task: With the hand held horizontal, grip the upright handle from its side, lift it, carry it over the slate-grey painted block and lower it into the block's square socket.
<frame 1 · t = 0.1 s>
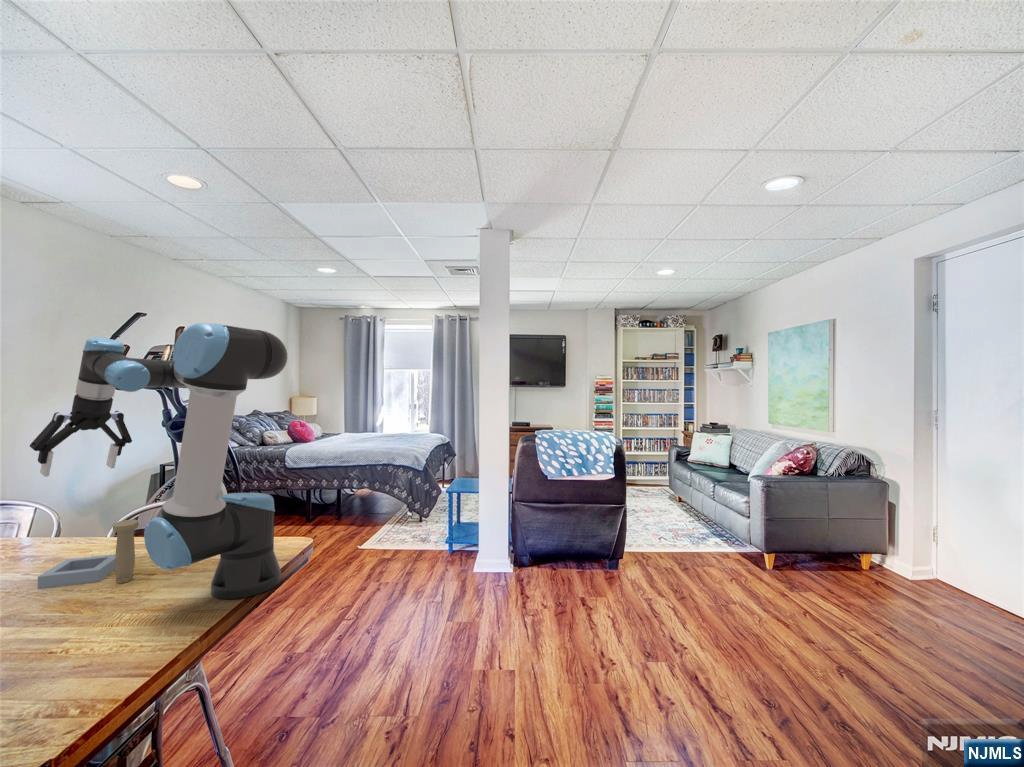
hand: (79, 470, 118), 28 cm above the table, tool tilted 20°, fingers open, 13 cm apart
socket block: (82, 575, 116), on the table
handle: (124, 582, 113), on the table
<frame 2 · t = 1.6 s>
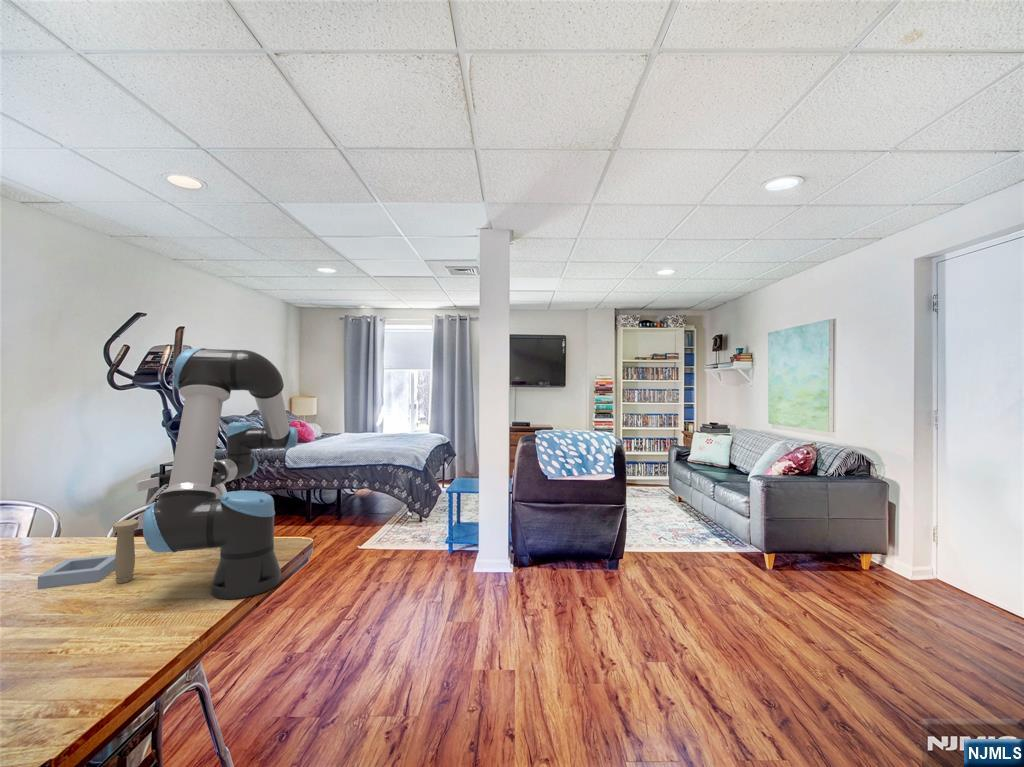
hand: (158, 487, 123), 22 cm above the table, tool horizontal, fingers open, 13 cm apart
nothing on the table moved.
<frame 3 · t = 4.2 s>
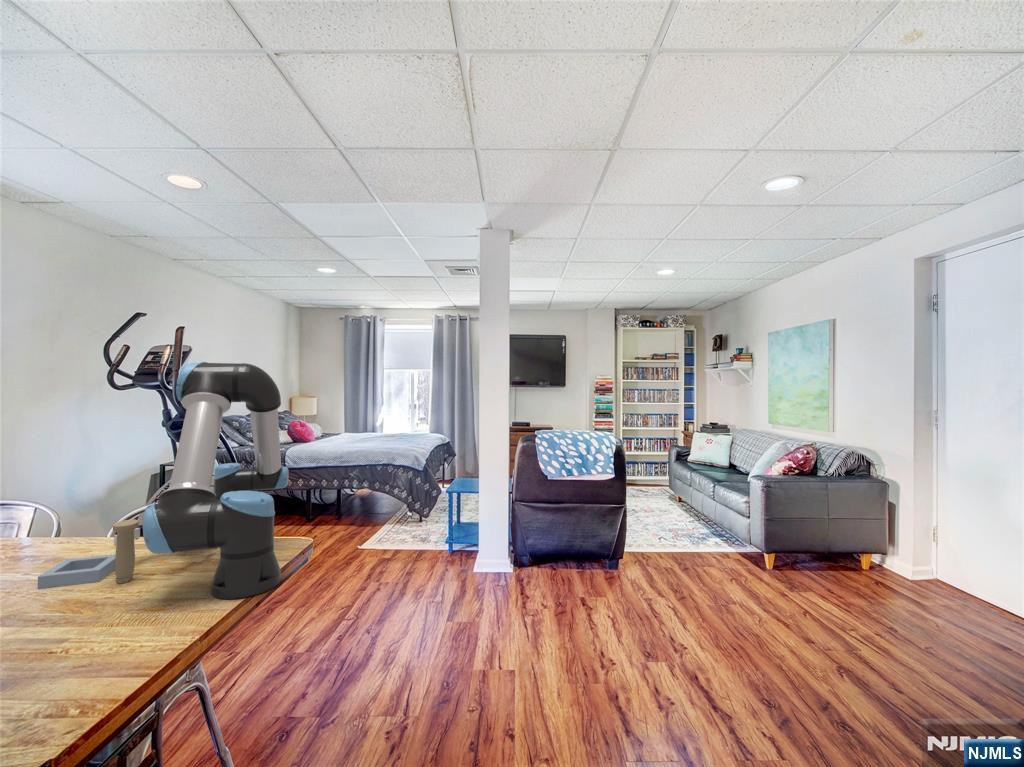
hand: (137, 541, 117), 9 cm above the table, tool horizontal, fingers open, 13 cm apart
nothing on the table moved.
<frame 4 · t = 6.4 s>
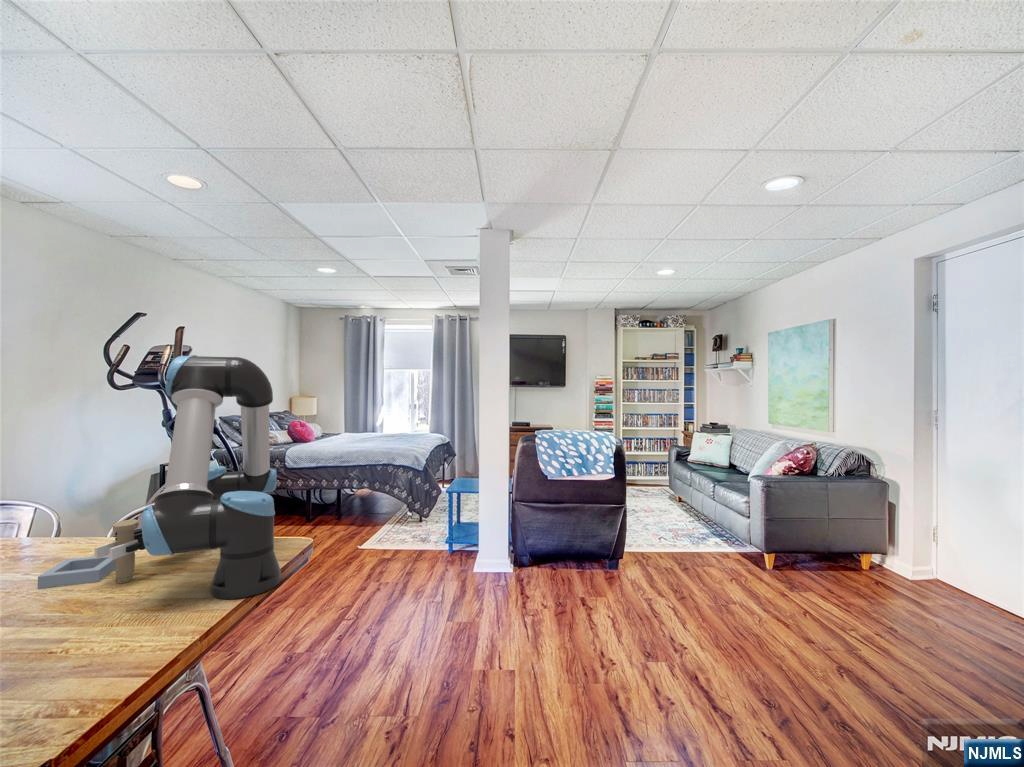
hand: (103, 553, 108), 9 cm above the table, tool horizontal, fingers closed on handle, 3 cm apart
handle: (124, 582, 113), on the table, touching gripper
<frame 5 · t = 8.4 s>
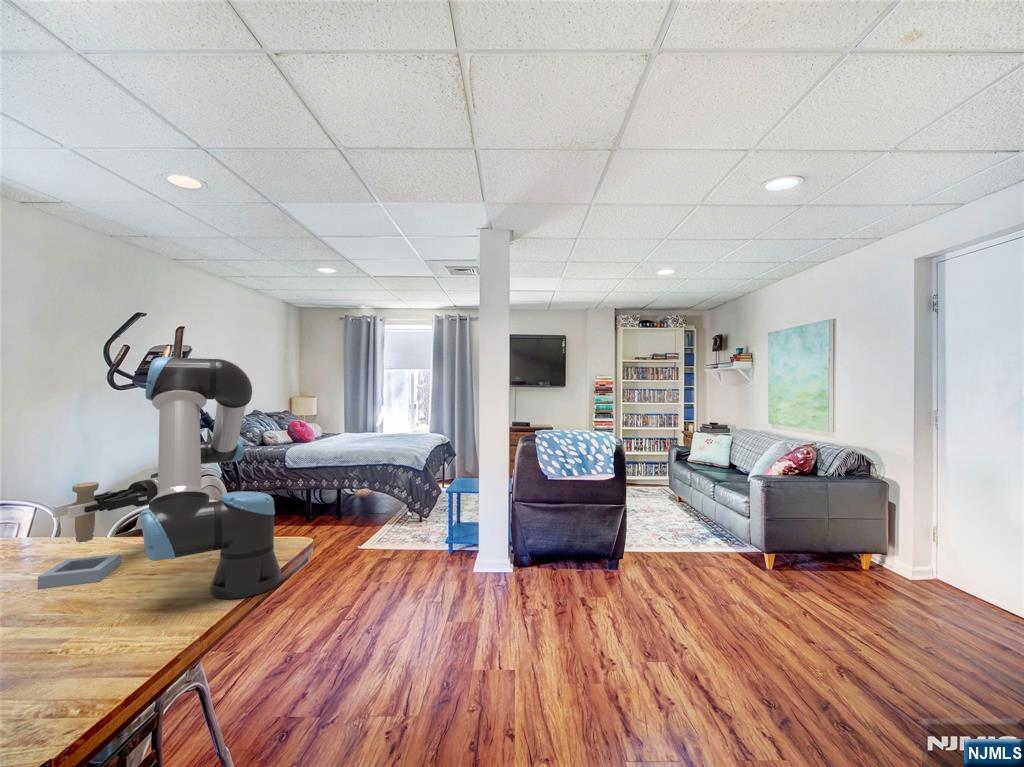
hand: (61, 512, 111), 18 cm above the table, tool horizontal, fingers closed on handle, 3 cm apart
handle: (84, 541, 117), point 9 cm above the table, touching gripper
when the fingers open (10 cm above the table, at t = 10.3 s): handle drops 1 cm, resting in socket block.
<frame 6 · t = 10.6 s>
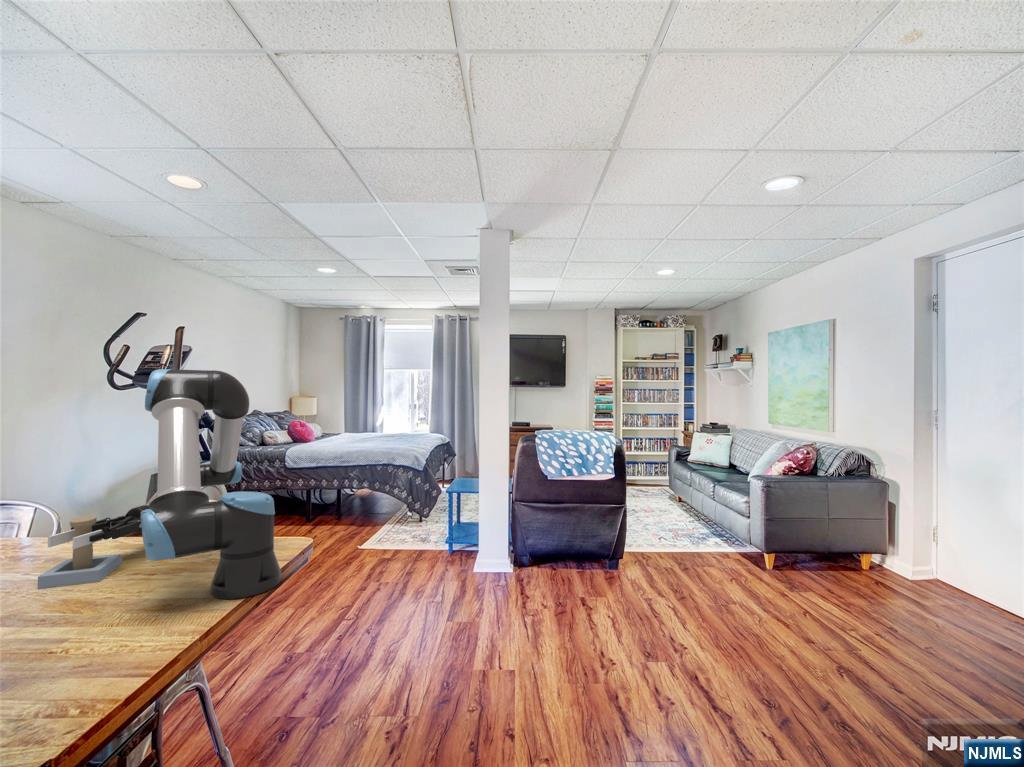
hand: (61, 542, 111), 10 cm above the table, tool horizontal, fingers open, 7 cm apart
handle: (82, 576, 116), resting in socket block
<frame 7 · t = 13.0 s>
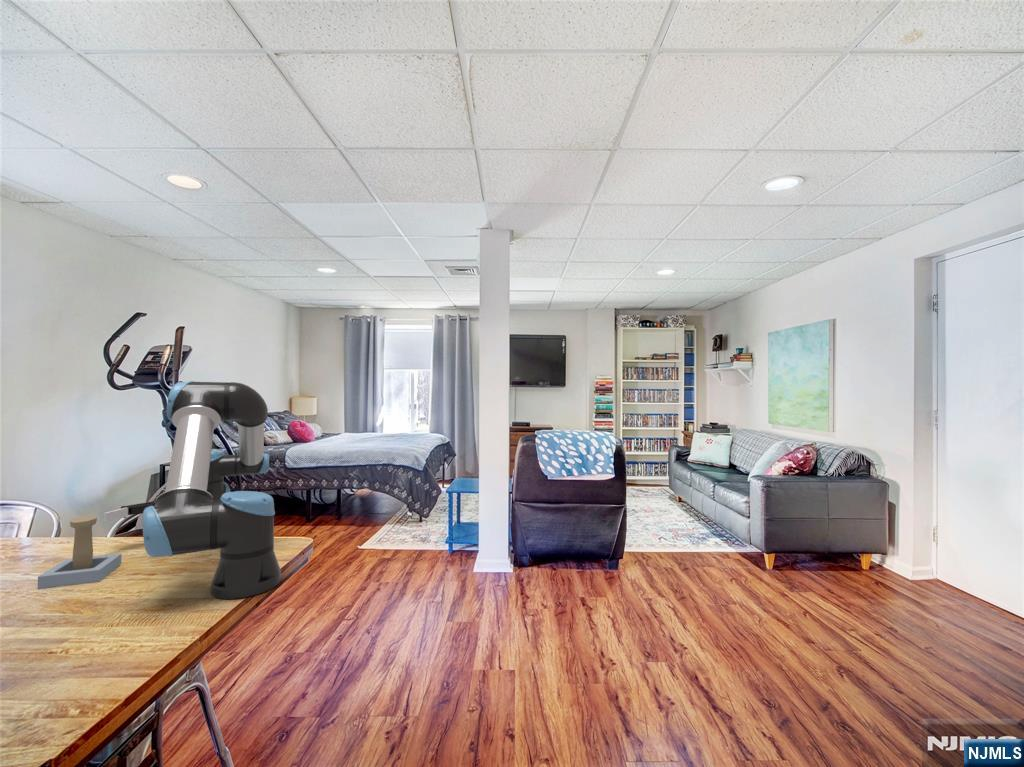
hand: (125, 518, 127), 12 cm above the table, tool horizontal, fingers open, 13 cm apart
nothing on the table moved.
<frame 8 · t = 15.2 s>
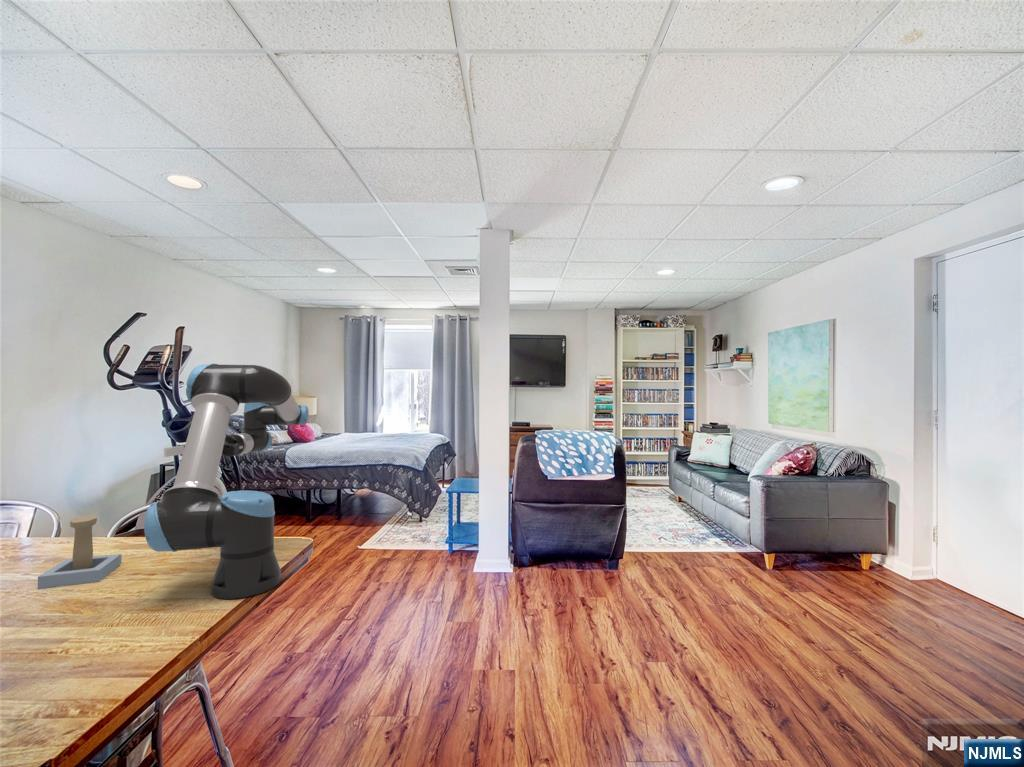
hand: (184, 452, 136), 30 cm above the table, tool horizontal, fingers open, 13 cm apart
nothing on the table moved.
at the end: handle 0.1 cm off-centre on the socket block, point 0.0 cm above the socket block's base; handle tilted 0°; the gripper is holding nothing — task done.
